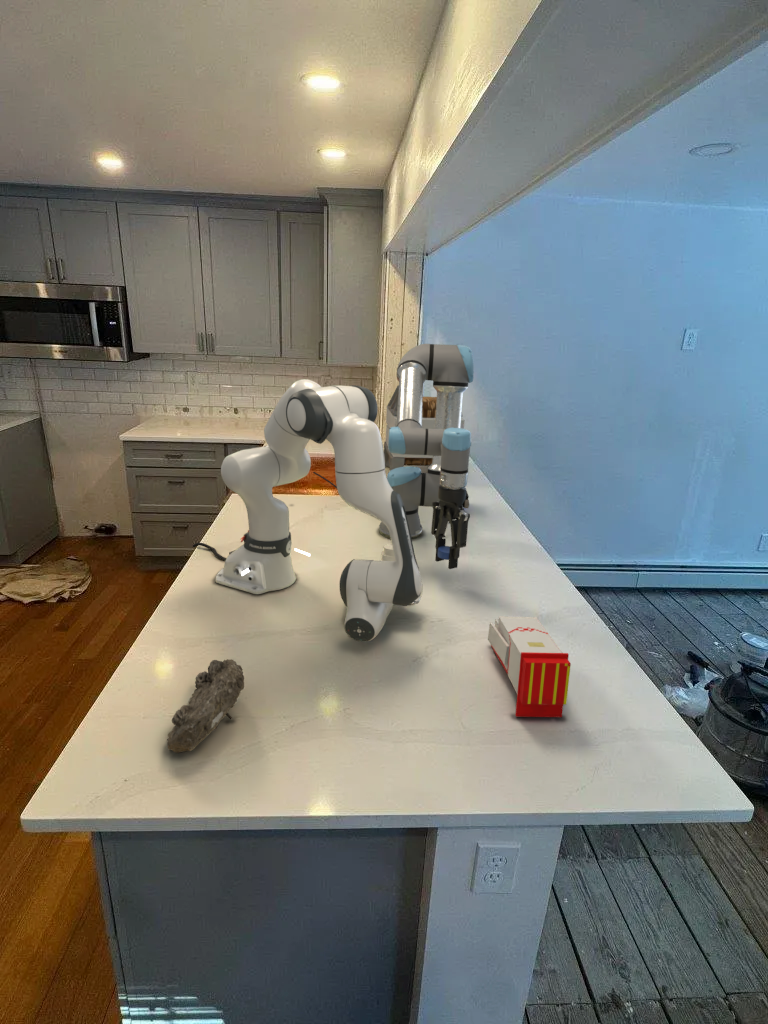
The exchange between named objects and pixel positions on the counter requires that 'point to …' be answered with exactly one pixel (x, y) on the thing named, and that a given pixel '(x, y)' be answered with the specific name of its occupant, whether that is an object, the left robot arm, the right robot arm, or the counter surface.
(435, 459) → the right robot arm
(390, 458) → the grey storage crate
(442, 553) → the lid
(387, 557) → the cream bottle
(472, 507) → the counter surface
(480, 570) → the counter surface
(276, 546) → the left robot arm
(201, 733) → the fossil
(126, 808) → the counter surface
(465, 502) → the figurine character
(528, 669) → the toy
